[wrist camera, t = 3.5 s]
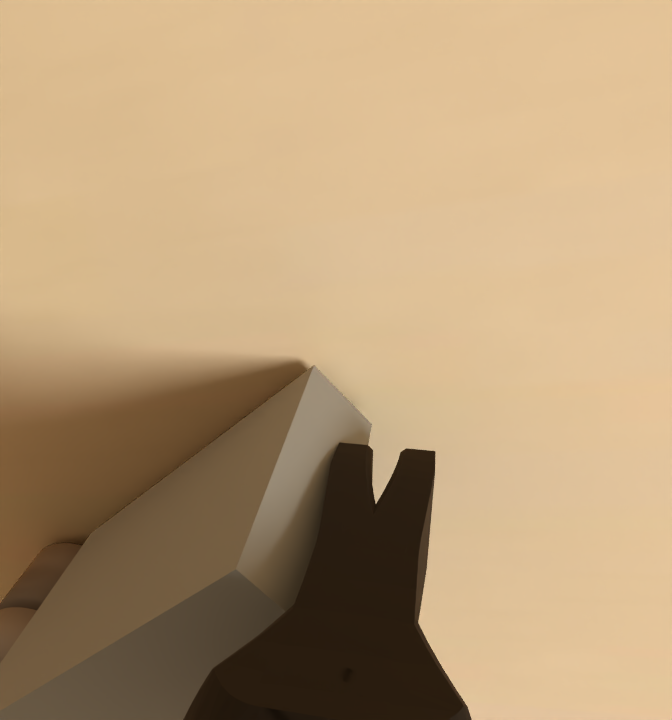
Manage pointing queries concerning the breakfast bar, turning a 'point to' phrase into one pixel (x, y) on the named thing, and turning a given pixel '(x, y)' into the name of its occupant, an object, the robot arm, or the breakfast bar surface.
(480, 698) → the breakfast bar surface
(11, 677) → the swing leaf
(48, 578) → the fixed leaf
